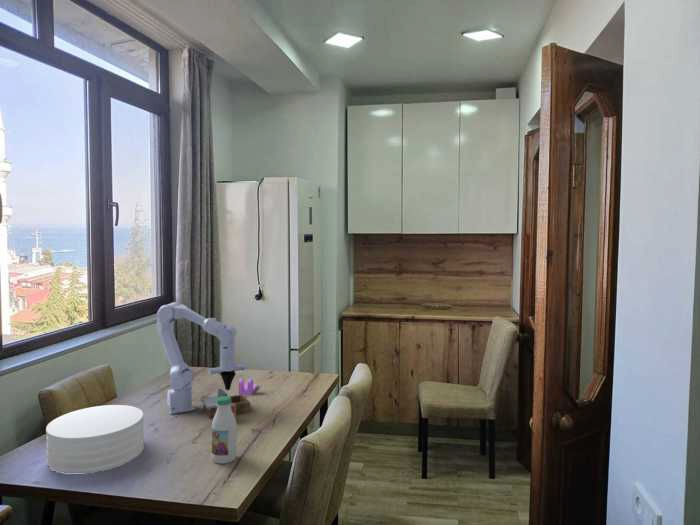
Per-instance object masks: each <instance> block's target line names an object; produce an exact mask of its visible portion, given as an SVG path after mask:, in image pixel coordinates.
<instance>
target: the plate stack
mask: <svg viewBox="0 0 700 525" xmlns="http://www.w3.org/2000/svg"><path fill="white" fill-rule="evenodd" d="M144 433H145V432H144V413H143V411H142V409H140V408H138V407H135V406H132V405H125V404H123V405H122V404H109V405H108V404H107V405H97V406H90V407H85V408H81V409H78V410H77V409H76V410H74V411H71V412H68V413H65V414H62V415H60V416H58V417H56V418H54V419H53V420H52V421H50V422H49V423H48V424H47V425H46V427H45V434H46V438H45V439H46V459H47V460H46V465H47V464H48V466H49V467H50V468H52V469H54V470H56V471H59V472H64V473H91V474H93V473H92V472H97V473H99V472H98V471H102V472H104V471H103V470H106V471H109V470H112V468H113V469H115V467H116V468H118V467H120V466H123V465H125V463H126V464H127V462H128V463H130V462H131V461H133V460H135V459H136V458H137V457H139V456H140V455H141V454H142V452H143V450H144V447H145V445H144V444H145V443H144V439H145V436H144ZM134 458H135V459H134ZM132 459H133V460H132ZM129 461H130V462H129ZM48 466H47V467H48ZM108 469H109V470H108Z"/></svg>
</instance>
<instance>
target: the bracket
mask: <svg viewBox="0 0 700 525" xmlns="http://www.w3.org/2000/svg"><path fill="white" fill-rule="evenodd" d="M257 389H258V383H254V379H253V378H249V379H248V380H247V383H246V384H245V379H244V378H239V380H238V395H240V394H242V395H243V396H252V395H253V394H254V392H255V391H256V390H257Z"/></svg>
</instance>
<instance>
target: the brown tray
mask: <svg viewBox="0 0 700 525" xmlns="http://www.w3.org/2000/svg"><path fill="white" fill-rule="evenodd" d="M229 397H231V402H232V403H234V404H235V405H236V415H239V414H245V413H249V412H250V413H251V402H250V401H249V400H248V399H247V397H245V395H242V394H240V395H239V394H235V395H229ZM202 406H203V407H202V408H203V409H202V410H203V412H204V413H205V414H206V415H207V417H208V418H209V419H210V420H213V418H214V416H215V414H216V411H217V408H211V409H208V408H207V407H206V406H205V405H204V404H203V403H202Z"/></svg>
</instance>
